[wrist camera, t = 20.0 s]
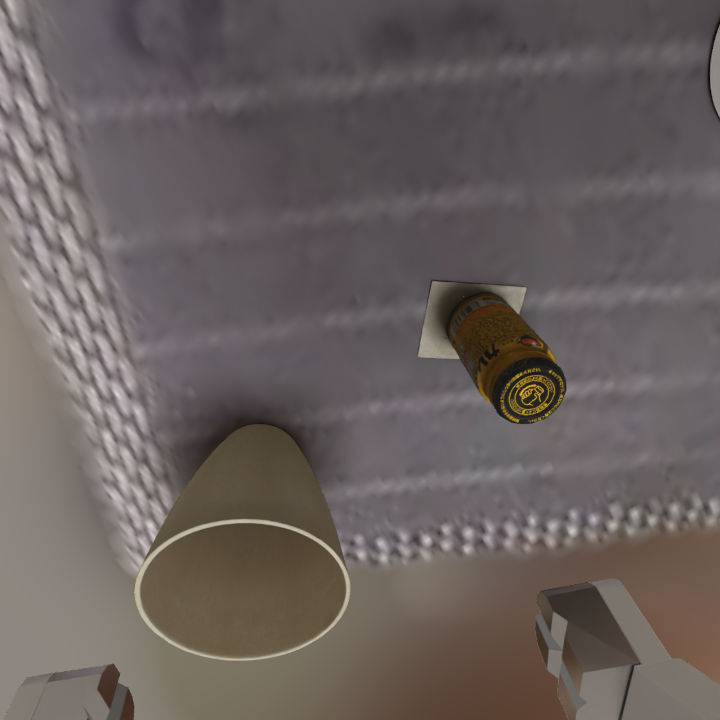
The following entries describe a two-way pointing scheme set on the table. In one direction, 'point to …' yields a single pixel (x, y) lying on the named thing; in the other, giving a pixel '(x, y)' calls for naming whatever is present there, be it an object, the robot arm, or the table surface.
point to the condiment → (494, 348)
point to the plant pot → (246, 555)
